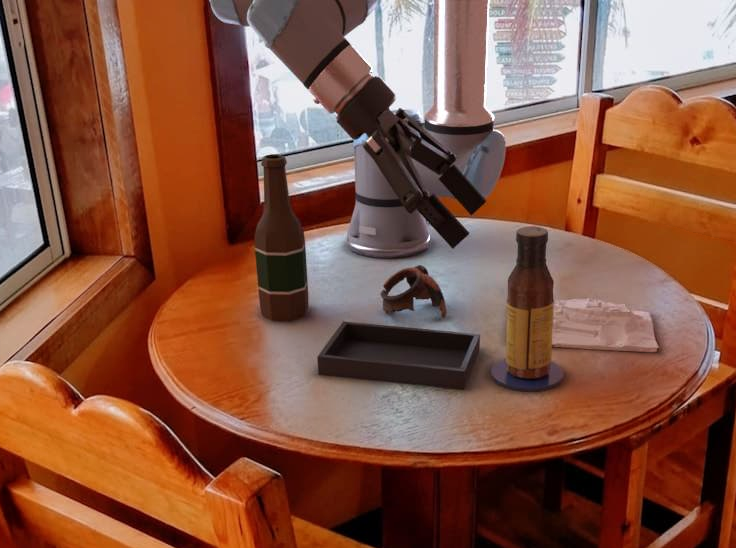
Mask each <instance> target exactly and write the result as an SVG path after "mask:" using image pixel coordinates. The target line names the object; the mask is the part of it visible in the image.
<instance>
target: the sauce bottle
mask: <svg viewBox="0 0 736 548" xmlns="http://www.w3.org/2000/svg"><path fill="white" fill-rule="evenodd" d="M515 241H516V244H517V247H516V248H517V249H516V251H517V253H516V255H517V257H516V261H515V262H516V264H515V267H514V268H513V270H512V271H511V272H510V275H509V276H508V278H507V298H506V299H507V300H506V330H505V333H506V338H505V339H506V340H505V359H506V362H507V369H508V372H509V373H510V374H511V375H513V376H514V377H519V378H524V379H537V378H541V377H543V376H545V375H547V374H548V372H549V370H550V362H552V354H553V353H552V351H553V347H552V346H553V345H552V329H553V306H554V304H555V301H554V300H555V299H554V284H555V282H554V278H553V277H552V275H551V272H550V270H549V268H548V264H547V259H546V258H547V245H548V241H549V231H548V230H547V229H546V228H544V227H541V226H536V225H529V226H522V227H521V228H518V229H517V230H516V235H515Z"/></svg>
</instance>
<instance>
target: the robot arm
mask: <svg viewBox="0 0 736 548" xmlns="http://www.w3.org/2000/svg"><path fill="white" fill-rule="evenodd" d="M208 1H209V3H210V8H211V10H212V12H213V14H214V15H215V17H216V18H217V19H218V20H219V21H221V22H222V23H225V24H230V25H236V26H241V27H242V28H247V27H251V28H252V30H253V31H254V33H255V34H256V35H257V36H258V38H259V39H260V40H261V41H262V43H263V44H264V47H266V48H267V49H269V50H270V51H271V52H272V53H273V54H274V55H275V56H276V58H278V59H279V61H281V63H282V64H283V65H284V66H285V67H286V68H287V69H288V70H289V71H290V72H291V73H292V74H293V75H294V76H295V78H296V79H297V80H298V81H300V82H301V84H302V85H303V87H304V88H305V89H307V91H308V92H309V93H310V94H311V95H312V96H313V100H312V101H313V102H314V104H316V105H319V104H320V105H321V106H322V107H323V108H324V109H325V111H327V112H328V113H329V114H330V115H333V114H334V113H335V114H336V115H337V116H336V117H335V119H336V123H337V124H338V125H339V126H340V127H341V129H343V130H344V132H345V133H346V134H347V136H349V137H350V138H351V139H352V140H353V142H352V147H353V161H354V162H353V163H354V188H355V189H354V191H355V205H354V209H353V212H352V215H351V219H350V222H349V227H348V230H347V234H346V245H347V248H348V249H349V250H351V251H352V252H354V253H356V254H359V255H361V256H366V257H371V258H382V259H392V258H393V259H396V258H406V257H410V256H415V255H417V254H421V253H422V252H424V251H427V250H428V248H429V247H430V244H431V241H430V239H431V237H430V236H431V235H430V230H429V228H428V224H429V225H430V226H431V227H432V228H433V229H434V230H435V231H436V233H437V234H438V235H440V237H441V238H442V239H443V240H444V241H445V243H446V244H448V245H449V246H450V248H451V249H455V248H456V247H457V246H459V244H460V243H461V242H462V241H463V240H464V239H466V238H467V237H468V236H469V235H470V232H469V231H468V229H467V228H466V227H465V226H464V225H463V224H462V223H461V222H460V221H459V219H458V218H456V216H455V215H454V214H453V213H452V212H451V211H450V210H449V208H447V206H446V205H445V204H444V203H443V202H442V201H441V200H440V199H439V198H447V199H453V200H457V202H458V203H459V204H460V205H461V207H463V208H464V210H465V211H466V212H467V213H468V214H469V215H470V216H472V215H474V214H475V213H476V212H477V211H478V210H480V208H482V207H483V206H484V205H485V204H486V203H487V199H486V198H487V197H489V196H490V195H491V193H492V192H493V190H494V189H495V188H496V185H498V182H499V179H500V178H501V174H502V172H503V168H504V164H505V159H506V151H507V144H506V140H505V139H506V138H505V136H504V134H503V132H501V131H499V130H497V129H495V115H494V114H493V113H492V112H491V111H490V110H489V109H488V108H487V106H486V100H487V99H486V98H487V71H488V70H487V69H488V44H489V42H488V41H489V13H490V0H434V4H433V5H434V7H433V11H434V17H433V23H434V24H433V30H434V31H433V105H432V107H431V108H430V109H429V110H428V112H426V113H425V115H424V122H421V121H422V116H421V113H420V111H418V110H415V109H403V108H401V107H399V108H398V109H394V110H391V109H390V107H391V106H392V105H394V103H395V101H396V100H397V95H396V93H395V92H394V91H393V90H392V89H391V87H390V86H389V85H388V84H387V82H385V81H384V80H383V78H382V77H381V76H378V75H375V76H373V72H374V68H373V67H372V66H371V64H370V63H369V62H368V61H367V60H366V59H365V58H364V57H363V56H362V55H361V53H359V51H358V50H357V49H356V48H355V47H354V46H353V45H352V43H350V42H349V40H348V39H347V38H346V36H348V35H349V34H350V33H351V32H352V31H354V30H355V29H356V28H358V27H359V26H361V25H362V24H364V22H366V20H367V18H368V17H369V16H370V15H371V14H372V13H373V12H374V11H375V10H376V8H377V6H378V3H379V0H208ZM438 197H439V198H438ZM427 223H428V224H427Z"/></svg>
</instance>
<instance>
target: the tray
mask: <svg viewBox="0 0 736 548" xmlns="http://www.w3.org/2000/svg"><path fill="white" fill-rule="evenodd" d="M480 348H481V333H472V332H461V331H452V330H440V329H431V328H430V329H429V328H419V327H408V326H399V325H398V326H397V325H388V324H387V325H386V324H376V323H367V322H355V321H345V320H343V321H342V322H341V323H340V325H339V326H338V328H337V329H336V330H335V332H333V334H332V336H331V337H330V338H329V340H328V341H327V343H326V344H325V345H324V346H323V348H322V350H321V351H320V352H319V354H318V355H317V359H316V360H317V375H319V376H328V377H337V378H338V377H339V378H347V379H357V380H366V381H376V382H384V383H385V382H386V383H387V382H388V383H395V384H405V385H414V386H425V387H433V388H434V387H435V388H443V389H453V390H460V391H461V390H462V391H464V390H465V388H466V386H467V383H468V381H469V378H470V376H471V373H472V372H473V368H474V367H475V364H476V361H477V359H478V356H479V354H480V352H481V351H480Z"/></svg>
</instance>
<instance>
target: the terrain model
mask: <svg viewBox="0 0 736 548" xmlns="http://www.w3.org/2000/svg"><path fill="white" fill-rule="evenodd" d="M653 320H654V319H653V318H652V317H651V313H650V312H649V311H641V310H632V309H631V308H629V307H627V305H626V304H625V303H613V302H612V301H606V300H602V299H601V298H598V299H594V298H590V297H589V298H572V299H568V300H566V299H555V302H554V306H553V329H552V348H570V349H571V348H572V349H586V350H599V351H600V350H604V351H619V352H620V351H621V352H641V353H657V352H658V349H660V346H659V344H658V342H657V341H656V336H655V331H654V328H655V327H654V323H653Z"/></svg>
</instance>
